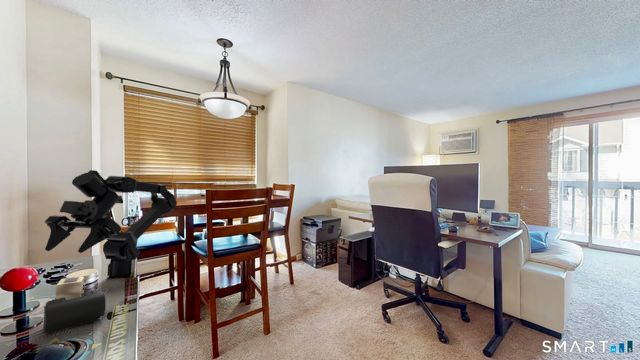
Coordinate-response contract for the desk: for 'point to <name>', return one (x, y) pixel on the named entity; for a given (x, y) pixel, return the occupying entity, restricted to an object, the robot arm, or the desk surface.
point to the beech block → (70, 288)
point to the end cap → (73, 311)
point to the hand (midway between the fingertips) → (63, 251)
